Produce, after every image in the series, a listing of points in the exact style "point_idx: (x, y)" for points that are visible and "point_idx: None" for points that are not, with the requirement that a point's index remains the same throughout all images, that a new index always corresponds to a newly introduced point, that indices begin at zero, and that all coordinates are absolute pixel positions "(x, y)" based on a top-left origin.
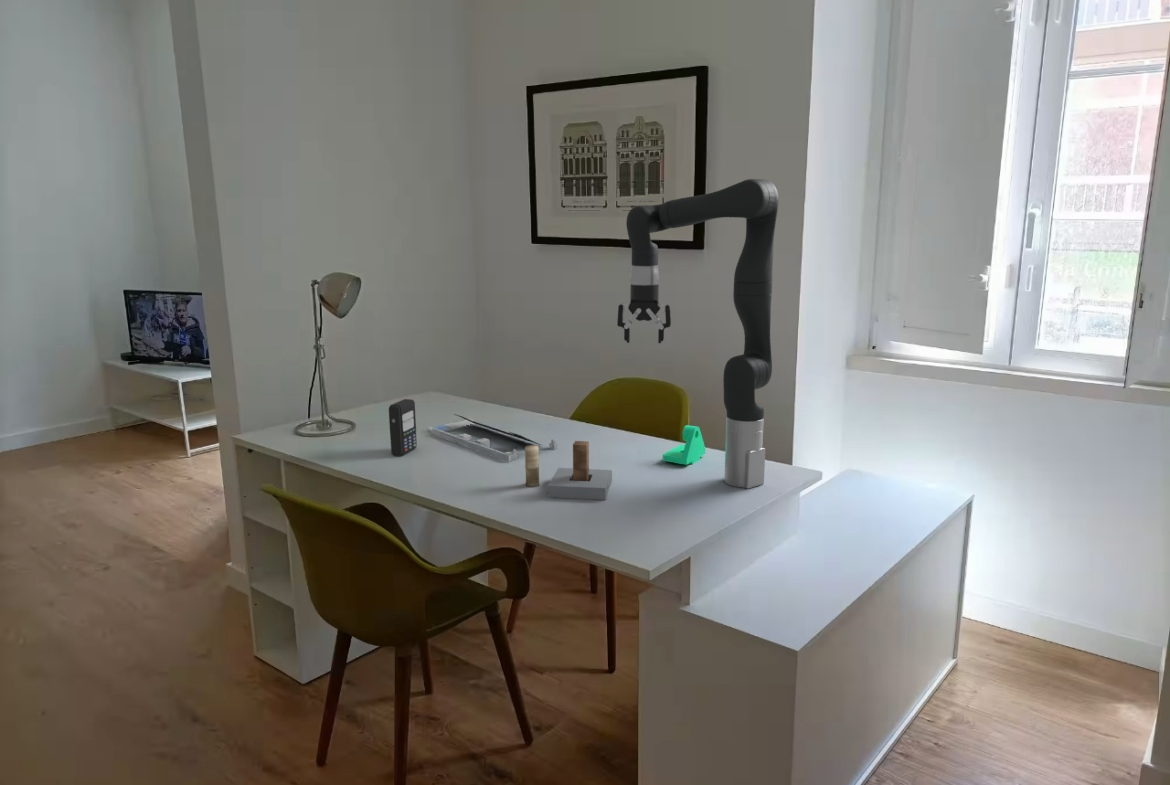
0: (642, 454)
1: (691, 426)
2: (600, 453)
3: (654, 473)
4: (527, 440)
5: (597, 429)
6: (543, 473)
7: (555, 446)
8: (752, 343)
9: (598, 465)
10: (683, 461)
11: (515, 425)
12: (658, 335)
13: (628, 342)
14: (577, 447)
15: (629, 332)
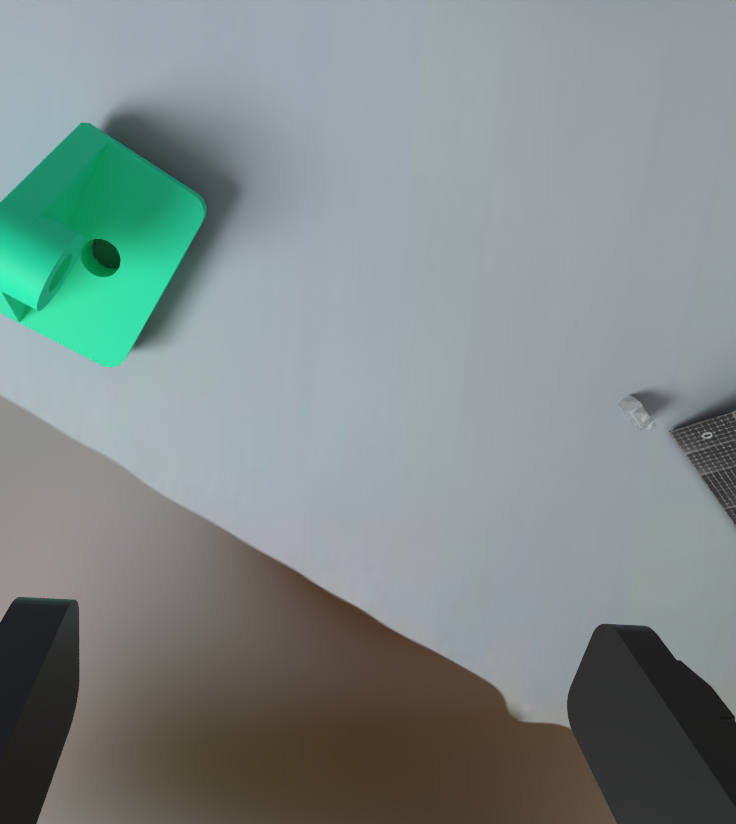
0: (293, 334)
1: (9, 256)
2: (464, 348)
3: (252, 40)
4: (714, 470)
5: (440, 626)
6: (733, 75)
7: (630, 403)
8: None
9: (492, 182)
10: (102, 134)
11: (701, 649)
12: (12, 724)
13: (614, 625)
14: None
15: (687, 818)
